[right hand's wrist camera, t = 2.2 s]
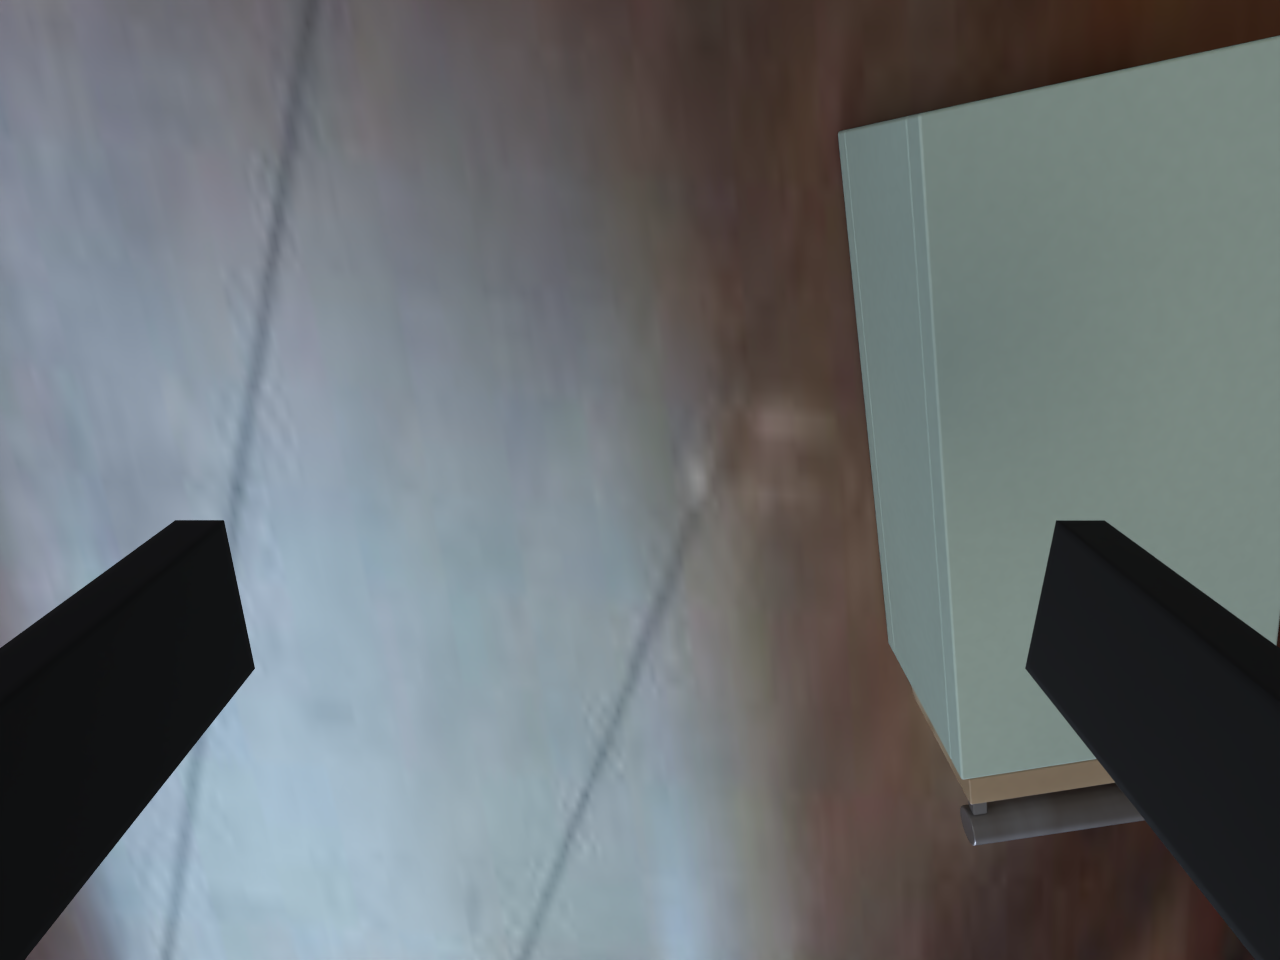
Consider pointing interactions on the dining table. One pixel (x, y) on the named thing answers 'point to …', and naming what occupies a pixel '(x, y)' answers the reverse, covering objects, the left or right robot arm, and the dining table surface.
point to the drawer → (1039, 800)
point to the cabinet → (1066, 363)
